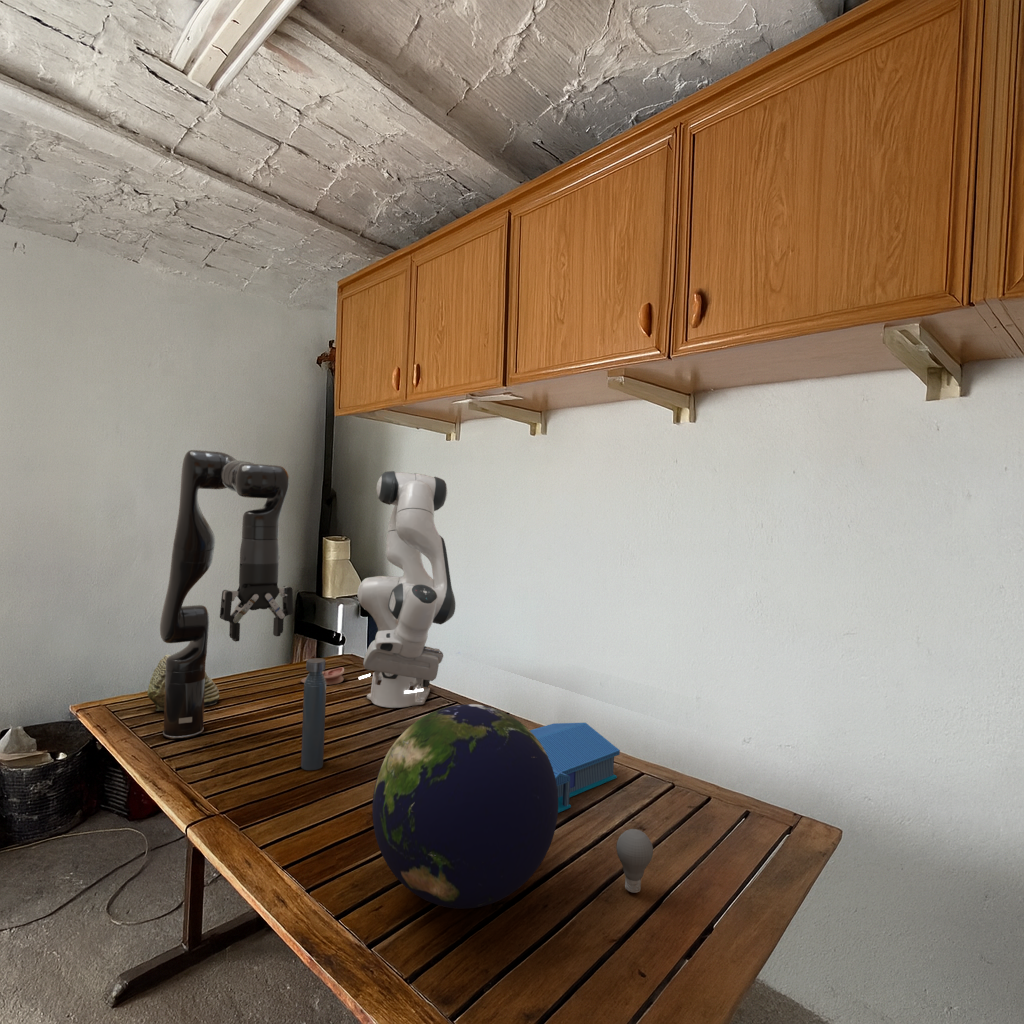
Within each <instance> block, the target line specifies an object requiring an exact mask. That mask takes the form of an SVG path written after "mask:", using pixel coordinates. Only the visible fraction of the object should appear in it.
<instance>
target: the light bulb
mask: <svg viewBox="0 0 1024 1024" xmlns="http://www.w3.org/2000/svg"><path fill="white" fill-rule="evenodd" d="M615 849H616V854H617V857H618V859H619V861H620V863H621V865H622V867H623V873H624V874H623V875H624V876H625V878H624V888H625V890H627V891H628V892H630V893H634V894H635V893H639V892H640V891H641V889H642V887H641V886H642V879H643V877H644V875H645V871H646V868H647V867H648V866H649V864H650V863H651V861H652V859H653V855H654V847H653V843H652V841H651V838H649V836H648V835H647V834H646V833H645V832H643V831H642V830H641V829H636V828H629V829H627V830H625V831H623V832H622V833H621V834H620V835H619V837H618V839H617V841H616V847H615Z"/></svg>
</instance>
